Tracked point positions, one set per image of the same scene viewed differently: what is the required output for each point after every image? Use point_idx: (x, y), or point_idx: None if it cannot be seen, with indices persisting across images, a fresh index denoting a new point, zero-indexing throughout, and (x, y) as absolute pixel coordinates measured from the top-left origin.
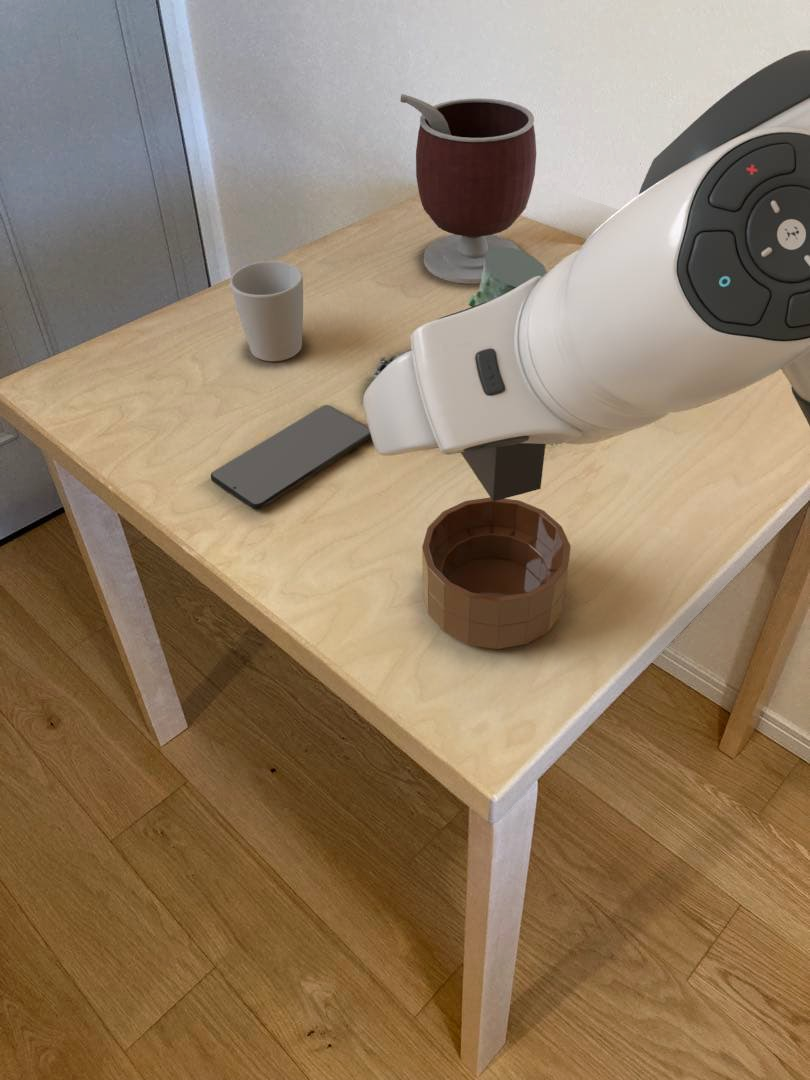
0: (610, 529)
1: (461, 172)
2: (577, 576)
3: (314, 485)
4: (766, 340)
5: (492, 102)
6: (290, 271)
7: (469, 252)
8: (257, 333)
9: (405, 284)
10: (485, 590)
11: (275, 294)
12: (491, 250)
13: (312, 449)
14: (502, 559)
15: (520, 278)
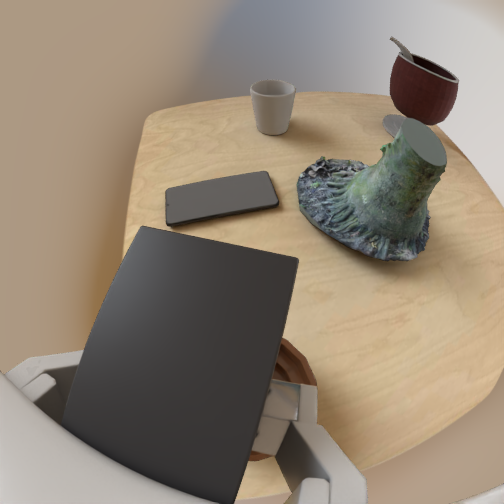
0: (376, 382)
1: (413, 81)
2: (322, 413)
3: (215, 224)
4: None
5: (439, 66)
6: (291, 89)
7: None
8: (257, 115)
9: (367, 125)
10: None
11: (268, 95)
12: (411, 119)
13: (230, 198)
14: (279, 371)
15: (425, 150)
